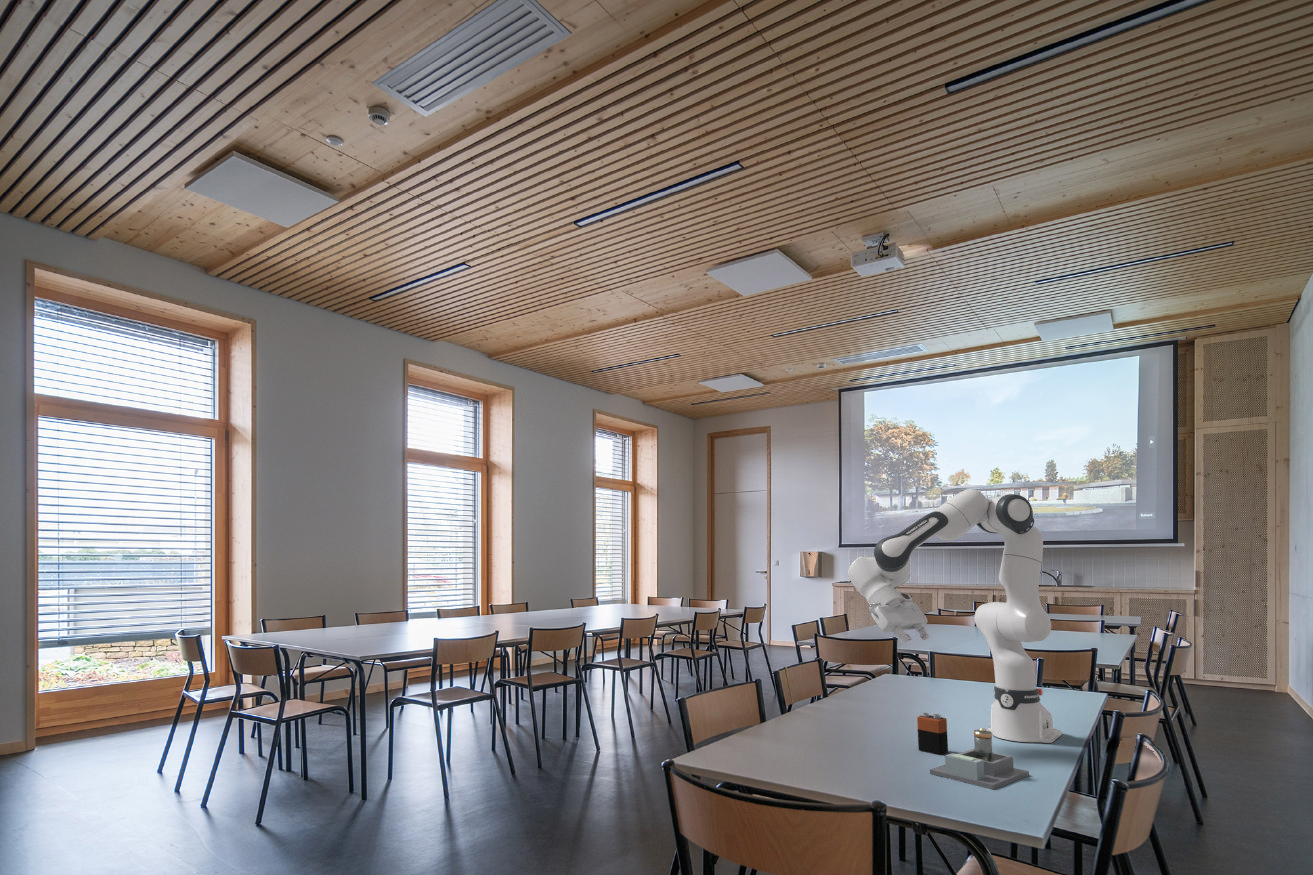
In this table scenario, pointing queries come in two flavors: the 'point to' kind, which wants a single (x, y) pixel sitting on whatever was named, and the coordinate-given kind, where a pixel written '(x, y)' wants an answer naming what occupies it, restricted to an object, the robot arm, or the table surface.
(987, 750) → the cell
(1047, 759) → the table surface
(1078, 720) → the table surface
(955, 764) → the tester
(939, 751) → the battery
